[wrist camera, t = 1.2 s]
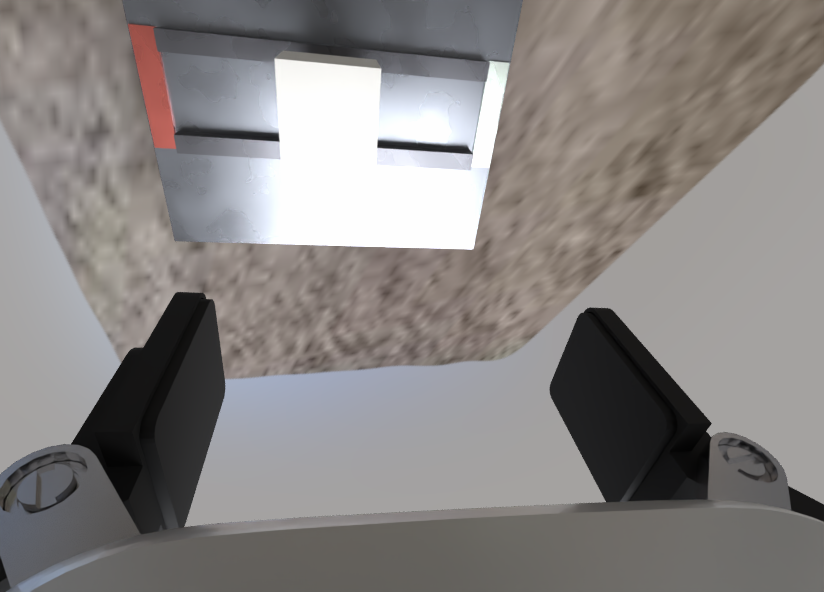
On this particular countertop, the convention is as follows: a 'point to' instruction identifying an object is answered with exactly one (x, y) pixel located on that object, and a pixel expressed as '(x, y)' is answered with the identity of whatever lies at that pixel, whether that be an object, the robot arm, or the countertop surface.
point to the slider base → (258, 113)
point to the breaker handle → (328, 130)
